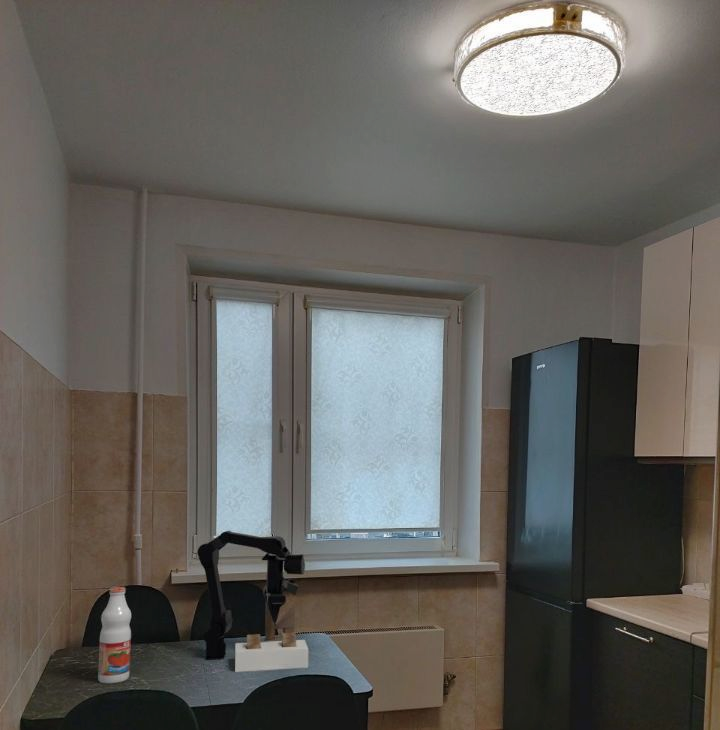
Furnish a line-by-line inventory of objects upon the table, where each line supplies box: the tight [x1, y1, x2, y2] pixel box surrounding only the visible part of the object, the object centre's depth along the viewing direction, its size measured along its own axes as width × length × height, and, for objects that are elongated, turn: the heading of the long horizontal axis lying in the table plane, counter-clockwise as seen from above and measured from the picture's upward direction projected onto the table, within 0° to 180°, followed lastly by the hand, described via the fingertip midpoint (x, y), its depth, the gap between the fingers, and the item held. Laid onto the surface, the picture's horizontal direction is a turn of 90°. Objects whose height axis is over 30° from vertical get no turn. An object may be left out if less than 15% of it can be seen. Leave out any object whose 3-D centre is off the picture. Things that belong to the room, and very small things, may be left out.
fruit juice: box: [97, 586, 132, 684], centre depth 216 cm, size 9×9×28 cm
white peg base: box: [234, 639, 309, 673], centre depth 230 cm, size 24×12×6 cm, turn 101°
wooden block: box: [263, 602, 295, 642], centre depth 251 cm, size 4×11×18 cm, turn 111°
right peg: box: [281, 631, 297, 647], centre depth 231 cm, size 4×4×5 cm
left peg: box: [246, 633, 261, 649], centre depth 229 cm, size 4×4×5 cm
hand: (273, 619), depth 238 cm, fingers open, 9 cm apart
